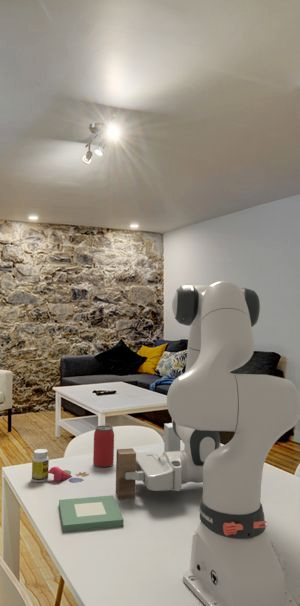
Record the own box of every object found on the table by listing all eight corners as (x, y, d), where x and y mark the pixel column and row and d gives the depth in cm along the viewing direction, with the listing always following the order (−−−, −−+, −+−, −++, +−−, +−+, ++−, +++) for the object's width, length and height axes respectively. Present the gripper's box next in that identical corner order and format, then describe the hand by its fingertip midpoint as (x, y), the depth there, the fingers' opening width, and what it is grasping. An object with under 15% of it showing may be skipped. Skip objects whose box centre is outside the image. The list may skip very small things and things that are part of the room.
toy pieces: (72, 488, 130) (73, 473, 130) (42, 480, 135) (42, 465, 135) (96, 475, 140) (97, 460, 140) (67, 468, 146) (68, 454, 146)
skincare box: (180, 463, 151) (181, 427, 151) (167, 464, 150) (168, 427, 150) (175, 457, 157) (176, 422, 157) (163, 458, 156) (163, 422, 156)
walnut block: (135, 497, 124) (136, 453, 124) (118, 499, 123) (119, 454, 123) (131, 491, 128) (132, 448, 128) (115, 492, 127) (116, 449, 127)
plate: (123, 525, 108) (123, 519, 108) (63, 532, 104) (63, 525, 104) (112, 501, 121) (112, 495, 121) (58, 505, 118) (59, 499, 118)
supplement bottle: (44, 483, 132) (45, 454, 132) (29, 481, 133) (29, 452, 133) (50, 477, 137) (51, 448, 137) (35, 475, 138) (36, 447, 138)
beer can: (91, 462, 151) (92, 425, 151) (111, 460, 153) (111, 424, 153) (95, 468, 145) (96, 430, 145) (115, 467, 147) (116, 429, 147)
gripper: (160, 445, 139) (115, 448, 135) (183, 469, 119) (130, 473, 115) (160, 466, 139) (115, 469, 135) (182, 493, 119) (130, 498, 115)
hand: (122, 471), depth 125 cm, fingers closed on walnut block, 4 cm apart
